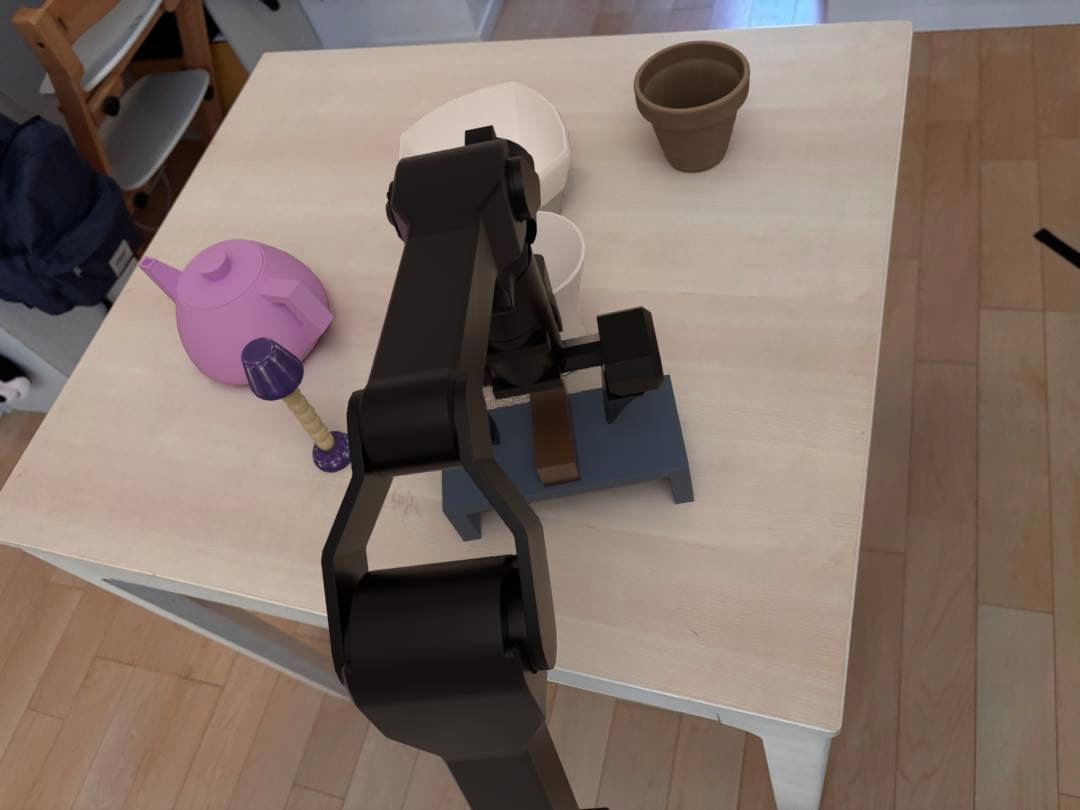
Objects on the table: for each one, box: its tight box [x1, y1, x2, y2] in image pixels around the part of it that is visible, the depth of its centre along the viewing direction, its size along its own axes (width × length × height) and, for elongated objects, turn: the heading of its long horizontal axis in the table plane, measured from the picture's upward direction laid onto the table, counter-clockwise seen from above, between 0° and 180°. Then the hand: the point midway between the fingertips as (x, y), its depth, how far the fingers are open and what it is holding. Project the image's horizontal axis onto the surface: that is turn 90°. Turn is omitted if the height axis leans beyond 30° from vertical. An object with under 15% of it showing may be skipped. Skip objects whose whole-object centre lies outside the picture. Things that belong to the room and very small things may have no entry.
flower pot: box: [633, 40, 751, 173], centre depth 90 cm, size 12×11×10 cm
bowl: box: [397, 81, 572, 215], centre depth 92 cm, size 18×18×9 cm
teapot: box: [137, 238, 335, 386], centre depth 89 cm, size 22×16×12 cm
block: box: [528, 378, 581, 487], centre depth 70 cm, size 8×3×3 cm, turn 5°
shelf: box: [441, 373, 695, 542], centre depth 73 cm, size 9×20×6 cm, turn 95°
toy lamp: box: [241, 337, 351, 473], centre depth 76 cm, size 5×5×17 cm
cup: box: [531, 211, 587, 376], centre depth 78 cm, size 10×10×14 cm
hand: (553, 429), depth 70 cm, fingers open, 9 cm apart
